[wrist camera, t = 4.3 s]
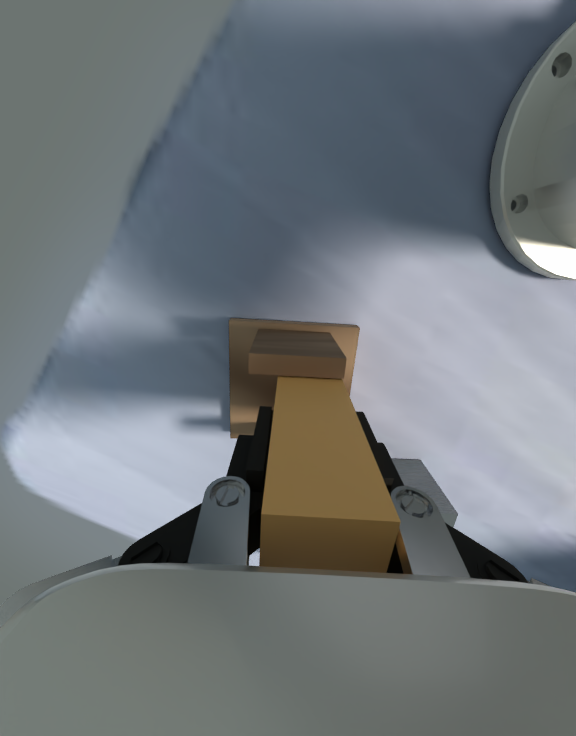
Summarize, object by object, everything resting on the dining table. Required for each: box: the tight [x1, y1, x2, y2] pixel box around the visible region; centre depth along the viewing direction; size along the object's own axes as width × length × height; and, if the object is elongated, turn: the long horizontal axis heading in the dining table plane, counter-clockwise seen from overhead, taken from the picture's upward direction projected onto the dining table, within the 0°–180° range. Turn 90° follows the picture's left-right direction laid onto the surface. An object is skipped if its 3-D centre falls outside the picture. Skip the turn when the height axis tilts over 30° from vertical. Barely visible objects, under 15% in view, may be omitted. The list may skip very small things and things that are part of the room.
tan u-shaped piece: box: [229, 318, 360, 438], centre depth 17 cm, size 8×8×6 cm
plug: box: [259, 376, 401, 573], centre depth 11 cm, size 4×3×10 cm
